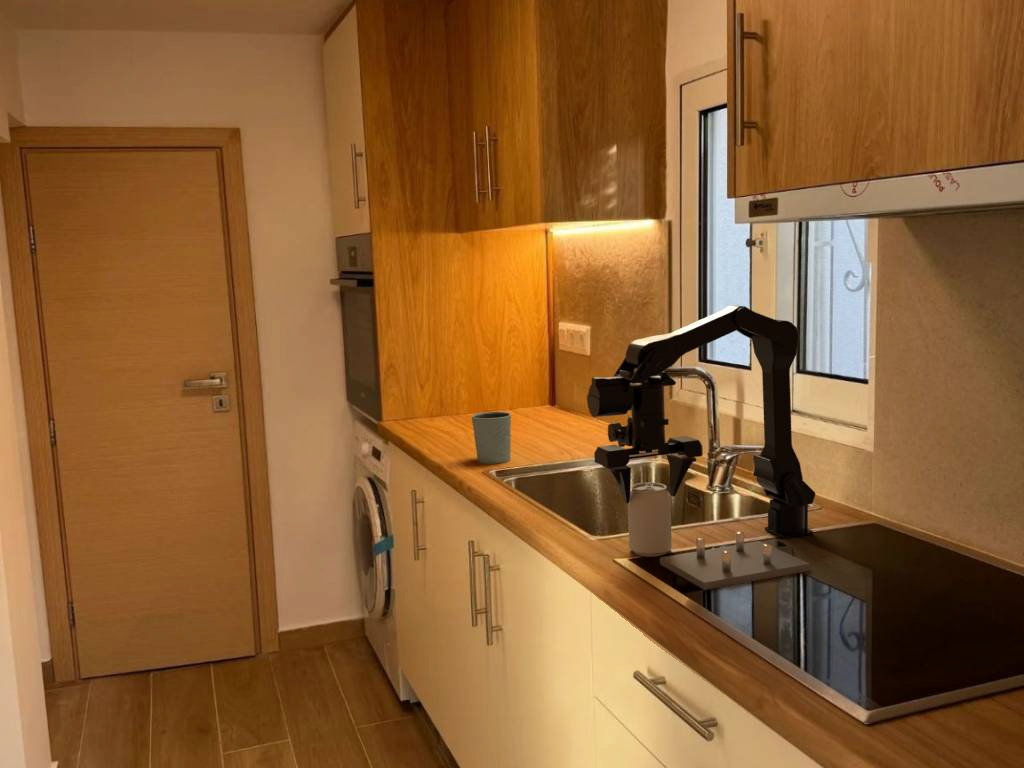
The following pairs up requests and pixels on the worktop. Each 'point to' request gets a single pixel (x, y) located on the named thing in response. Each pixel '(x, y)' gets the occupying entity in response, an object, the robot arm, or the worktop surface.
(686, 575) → the pin tray
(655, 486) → the can
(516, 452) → the worktop surface
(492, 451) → the grey-blue cup
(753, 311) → the robot arm
